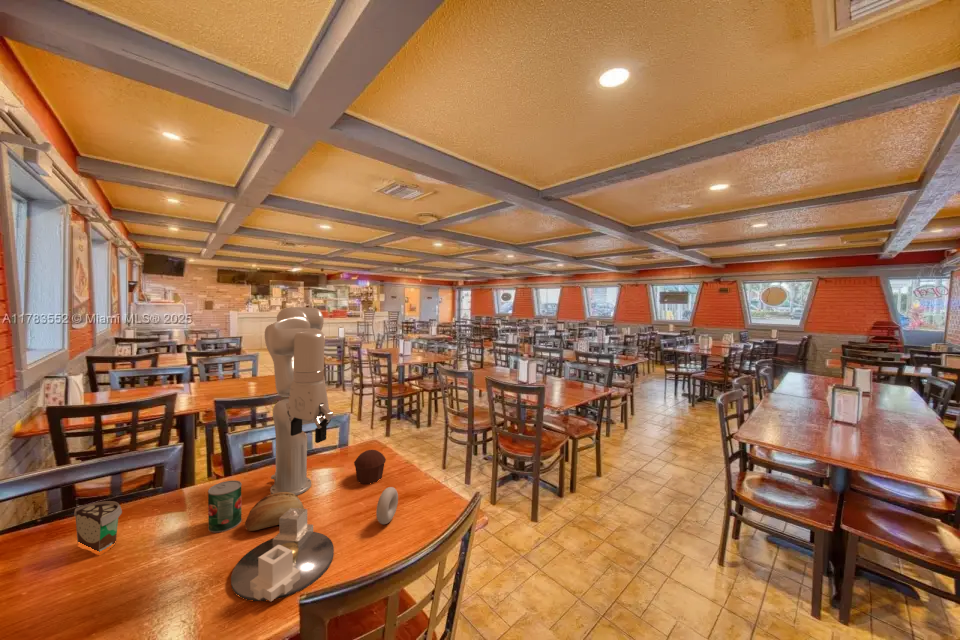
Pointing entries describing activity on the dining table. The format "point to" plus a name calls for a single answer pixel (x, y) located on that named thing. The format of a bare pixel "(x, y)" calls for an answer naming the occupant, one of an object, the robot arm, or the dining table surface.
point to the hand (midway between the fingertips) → (308, 437)
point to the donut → (387, 505)
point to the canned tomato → (224, 506)
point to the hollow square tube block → (275, 574)
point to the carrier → (308, 554)
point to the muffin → (369, 466)
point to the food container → (97, 524)
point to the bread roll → (271, 510)
